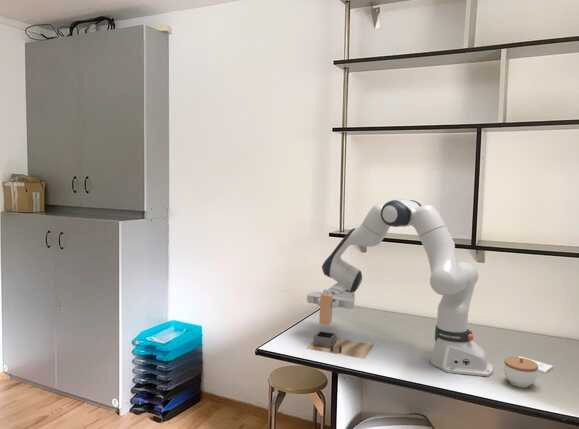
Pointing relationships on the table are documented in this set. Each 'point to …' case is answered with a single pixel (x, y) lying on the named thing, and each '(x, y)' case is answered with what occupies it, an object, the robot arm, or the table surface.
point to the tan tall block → (325, 308)
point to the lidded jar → (520, 371)
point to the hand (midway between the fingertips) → (325, 304)
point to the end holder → (325, 339)
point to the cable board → (346, 348)
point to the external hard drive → (541, 366)
